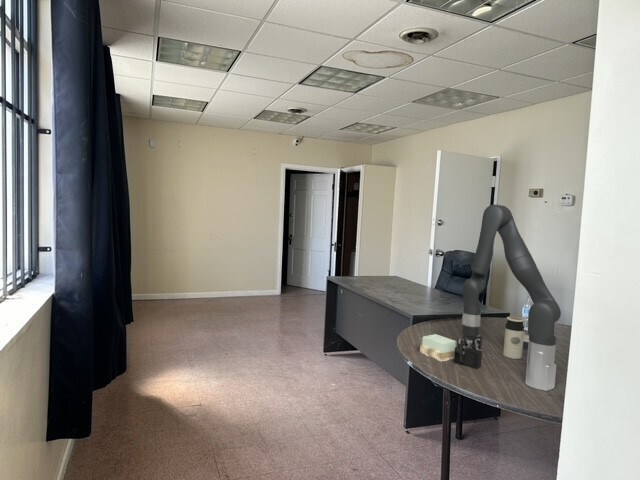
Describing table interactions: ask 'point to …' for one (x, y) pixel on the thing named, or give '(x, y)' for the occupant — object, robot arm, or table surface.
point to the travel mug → (513, 338)
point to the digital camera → (469, 358)
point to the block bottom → (437, 353)
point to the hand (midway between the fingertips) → (468, 360)
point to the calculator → (525, 341)
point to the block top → (439, 343)
